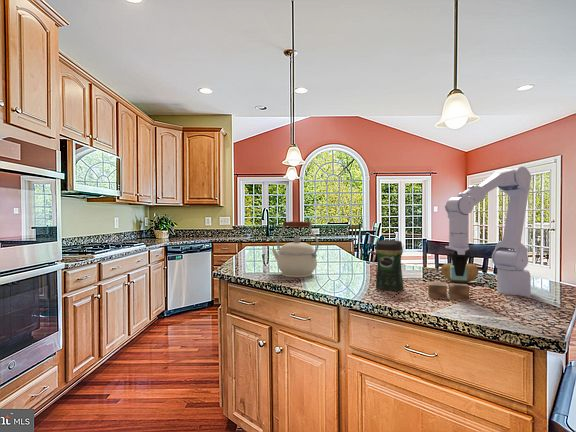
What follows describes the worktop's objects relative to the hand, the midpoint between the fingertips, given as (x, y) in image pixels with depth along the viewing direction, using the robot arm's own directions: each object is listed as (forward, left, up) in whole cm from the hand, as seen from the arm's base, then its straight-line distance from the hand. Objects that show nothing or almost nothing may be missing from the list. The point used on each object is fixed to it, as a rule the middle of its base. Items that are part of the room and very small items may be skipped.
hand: (458, 274), depth 114 cm
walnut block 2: (0, 0, -8) cm, 8 cm away
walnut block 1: (+6, 0, -8) cm, 10 cm away
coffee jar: (+22, -7, -8) cm, 25 cm away
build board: (+1, -2, -8) cm, 8 cm away
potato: (-4, -32, -8) cm, 33 cm away
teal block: (0, 0, -1) cm, 1 cm away
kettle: (+66, -26, -8) cm, 72 cm away
